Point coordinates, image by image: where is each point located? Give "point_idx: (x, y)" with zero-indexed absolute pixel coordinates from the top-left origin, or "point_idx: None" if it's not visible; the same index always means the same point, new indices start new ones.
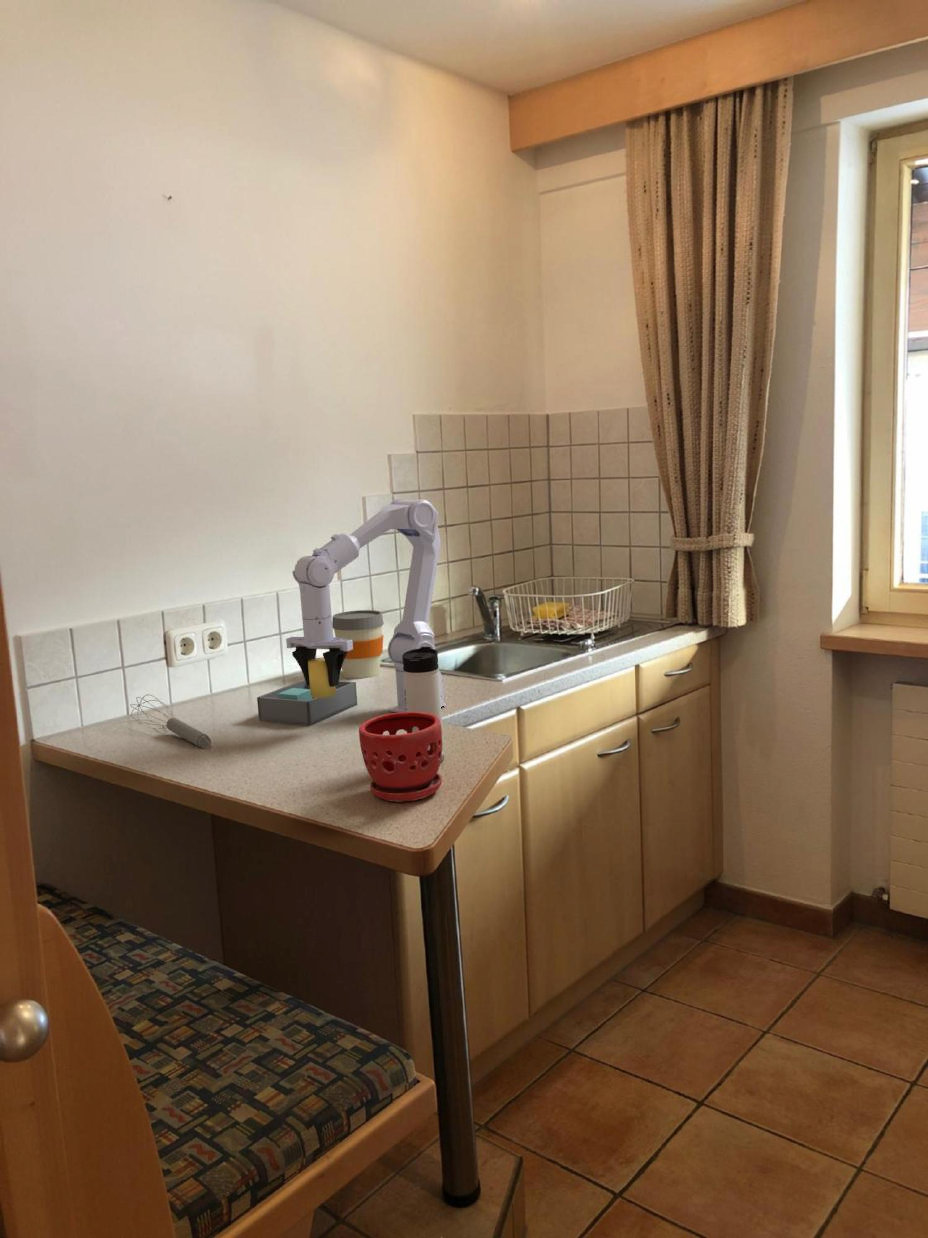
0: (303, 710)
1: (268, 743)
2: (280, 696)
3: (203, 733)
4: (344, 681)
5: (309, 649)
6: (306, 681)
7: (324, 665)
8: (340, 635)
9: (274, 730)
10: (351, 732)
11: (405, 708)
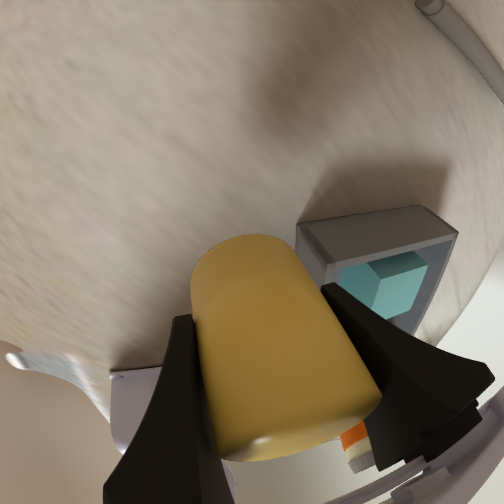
0: (333, 242)
1: (304, 42)
2: (419, 262)
3: (449, 15)
4: None
5: (403, 454)
6: (341, 291)
7: (224, 417)
8: None
9: (363, 154)
10: (139, 233)
11: None
